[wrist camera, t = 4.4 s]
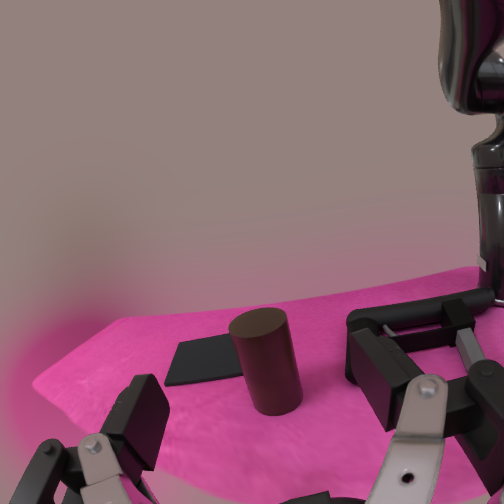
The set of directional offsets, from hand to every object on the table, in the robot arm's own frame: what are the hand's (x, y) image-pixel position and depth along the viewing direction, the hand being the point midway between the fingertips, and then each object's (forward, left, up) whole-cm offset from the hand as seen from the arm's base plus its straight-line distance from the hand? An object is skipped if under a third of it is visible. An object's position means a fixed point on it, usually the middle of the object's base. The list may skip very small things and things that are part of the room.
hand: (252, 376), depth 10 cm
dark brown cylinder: (0, -11, -12) cm, 17 cm away
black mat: (+8, -21, -12) cm, 26 cm away
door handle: (-17, -10, -12) cm, 23 cm away
